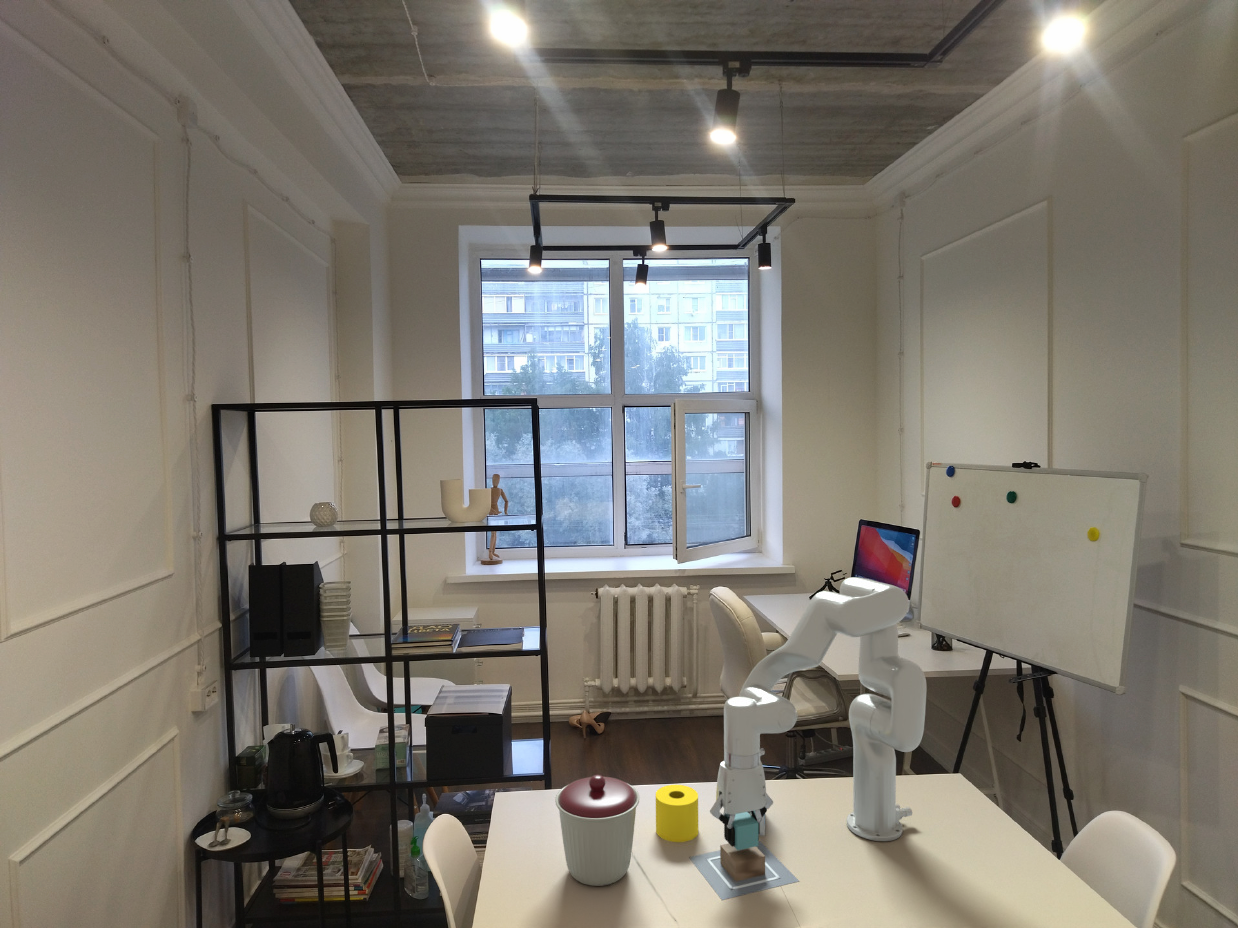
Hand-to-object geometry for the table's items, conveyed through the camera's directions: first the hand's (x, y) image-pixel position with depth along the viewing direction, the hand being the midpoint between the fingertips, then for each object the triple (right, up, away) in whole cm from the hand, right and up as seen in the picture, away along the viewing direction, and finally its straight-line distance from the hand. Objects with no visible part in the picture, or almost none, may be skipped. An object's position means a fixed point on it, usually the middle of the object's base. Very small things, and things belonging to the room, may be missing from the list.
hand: (742, 839), depth 158 cm
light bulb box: (+5, -7, +19) cm, 21 cm away
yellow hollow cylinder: (-13, -7, +16) cm, 22 cm away
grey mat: (0, -7, 0) cm, 7 cm away
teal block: (0, 0, 0) cm, 0 cm away
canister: (-31, -8, +1) cm, 32 cm away
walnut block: (0, -6, 0) cm, 6 cm away
